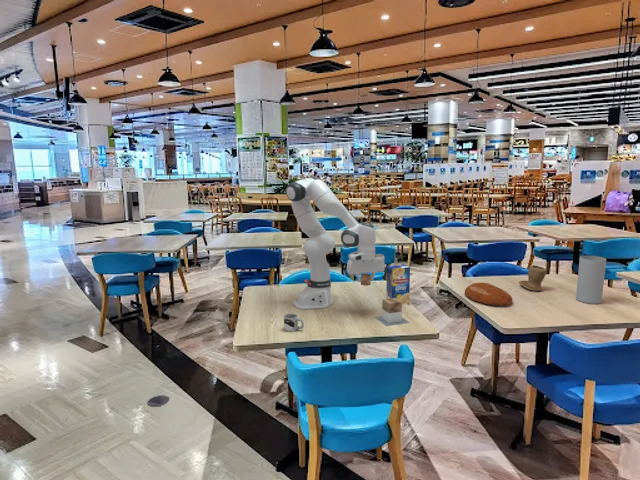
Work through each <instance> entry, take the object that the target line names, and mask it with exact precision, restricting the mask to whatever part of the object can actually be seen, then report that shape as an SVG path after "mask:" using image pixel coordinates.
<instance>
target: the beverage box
mask: <svg viewBox="0 0 640 480" xmlns="http://www.w3.org/2000/svg"><path fill="white" fill-rule="evenodd" d="M410 283H411V267H410V266H409V265H406V264H396V265H394V264H393V265H386V290H385V291H386V297H385V299H390V298H396V299H398V300H399V301H401V302H402V305H404V304H406V305H410V292H411V291H410V290H411V289H410V288H411V287H410V286H411V285H410Z"/></svg>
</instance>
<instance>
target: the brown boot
mask: <svg viewBox="0 0 640 480" xmlns="http://www.w3.org/2000/svg"><path fill="white" fill-rule="evenodd" d="M527 275H528V276H527V277H528V278H527V279H528V280H520V281H518V284H519V285H520V286H522V287H523V288H525V289H527V290H528V291H529V290H530V291H532V292H533V291H534V292H541V291H544V288H543V286H542V282H543V280H544V279H545V278H546V275H547V268H545V267H542V266H540V265H535V264H531V265H530V266H529V267H528V272H527Z"/></svg>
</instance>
